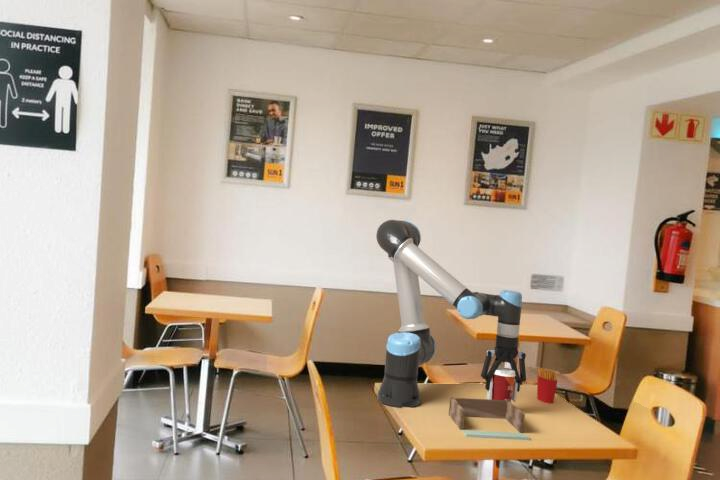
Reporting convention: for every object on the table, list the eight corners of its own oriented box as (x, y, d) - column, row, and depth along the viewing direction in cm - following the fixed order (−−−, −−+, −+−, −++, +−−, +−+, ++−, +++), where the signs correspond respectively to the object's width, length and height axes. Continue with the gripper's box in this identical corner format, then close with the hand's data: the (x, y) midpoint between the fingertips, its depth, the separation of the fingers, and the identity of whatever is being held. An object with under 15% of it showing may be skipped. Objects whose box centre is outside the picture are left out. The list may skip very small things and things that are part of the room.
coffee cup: (512, 417, 208) (517, 373, 208) (488, 413, 210) (492, 370, 210) (511, 410, 217) (515, 368, 216) (487, 406, 218) (492, 365, 218)
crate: (448, 418, 201) (450, 397, 201) (507, 421, 203) (509, 400, 203) (459, 433, 187) (461, 410, 187) (522, 436, 189) (524, 414, 189)
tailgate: (460, 429, 187) (466, 434, 181) (522, 433, 189) (529, 437, 183) (460, 433, 187) (466, 438, 181) (522, 437, 189) (529, 441, 183)
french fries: (556, 403, 231) (560, 372, 231) (549, 404, 229) (553, 372, 228) (539, 396, 238) (542, 366, 238) (532, 397, 236) (535, 366, 236)
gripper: (532, 335, 217) (526, 398, 218) (475, 331, 215) (468, 395, 216) (540, 339, 210) (534, 404, 211) (481, 335, 208) (475, 401, 208)
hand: (501, 399), depth 213 cm, fingers closed on coffee cup, 8 cm apart
